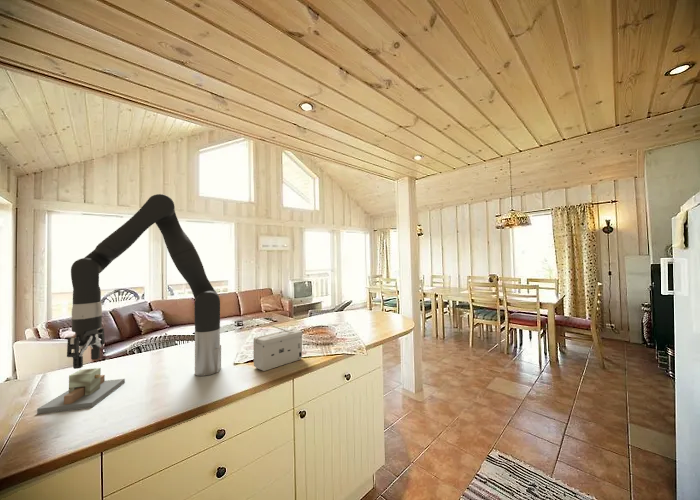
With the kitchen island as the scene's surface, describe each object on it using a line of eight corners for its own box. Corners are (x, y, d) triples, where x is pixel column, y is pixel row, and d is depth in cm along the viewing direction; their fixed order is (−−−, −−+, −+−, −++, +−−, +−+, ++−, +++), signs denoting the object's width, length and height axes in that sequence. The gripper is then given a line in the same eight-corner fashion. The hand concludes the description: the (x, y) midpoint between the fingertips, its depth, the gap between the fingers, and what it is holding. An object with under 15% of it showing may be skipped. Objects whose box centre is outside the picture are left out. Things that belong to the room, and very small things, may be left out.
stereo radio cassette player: (294, 355, 131) (294, 313, 131) (304, 359, 125) (304, 315, 126) (252, 368, 116) (252, 320, 117) (261, 373, 110) (261, 323, 111)
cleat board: (124, 382, 104) (124, 372, 104) (91, 407, 86) (92, 394, 86) (80, 387, 100) (80, 376, 100) (37, 413, 83) (37, 400, 83)
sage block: (103, 387, 96) (103, 367, 97) (93, 394, 91) (94, 373, 92) (79, 390, 95) (80, 369, 95) (68, 397, 90) (69, 375, 90)
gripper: (85, 319, 88) (85, 370, 88) (112, 311, 102) (112, 355, 101) (57, 321, 86) (57, 373, 86) (88, 312, 100) (88, 357, 100)
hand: (87, 363), depth 94 cm, fingers open, 8 cm apart
